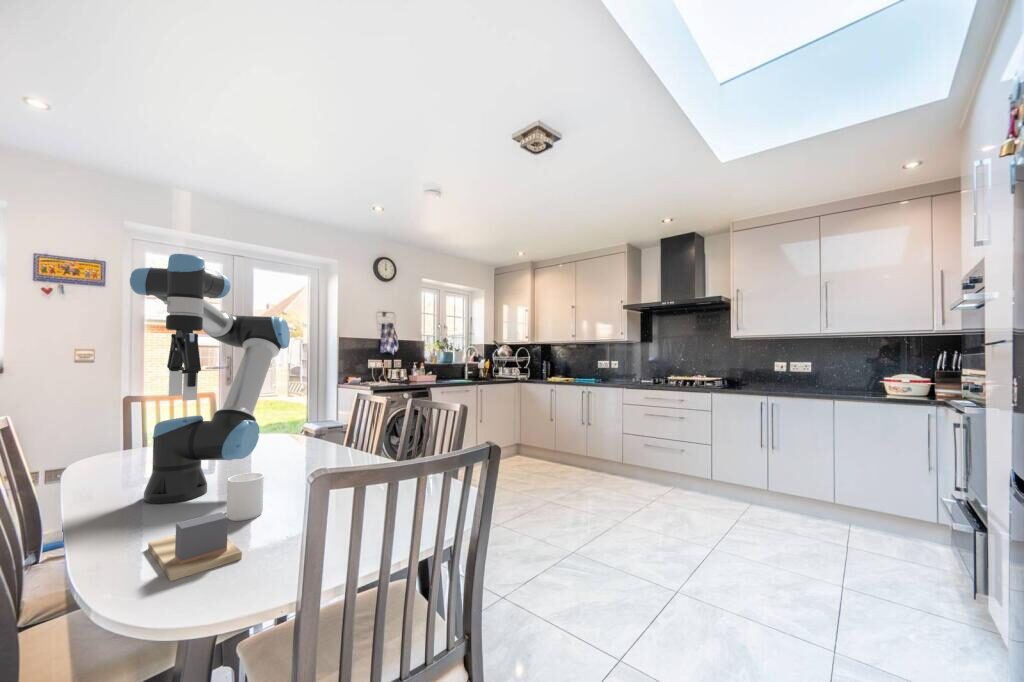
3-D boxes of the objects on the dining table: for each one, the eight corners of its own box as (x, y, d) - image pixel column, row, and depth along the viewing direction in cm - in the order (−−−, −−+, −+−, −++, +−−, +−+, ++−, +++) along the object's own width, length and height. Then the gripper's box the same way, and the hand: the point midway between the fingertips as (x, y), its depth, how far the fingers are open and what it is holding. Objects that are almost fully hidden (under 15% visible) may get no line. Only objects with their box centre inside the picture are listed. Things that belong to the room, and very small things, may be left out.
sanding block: (174, 557, 89) (176, 522, 89) (220, 544, 95) (221, 512, 95) (180, 564, 86) (181, 528, 86) (226, 550, 92) (227, 517, 92)
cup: (233, 523, 109) (235, 483, 110) (215, 512, 117) (217, 474, 117) (268, 514, 116) (269, 476, 116) (249, 504, 123) (250, 468, 123)
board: (148, 548, 95) (148, 541, 95) (212, 532, 104) (212, 525, 104) (170, 581, 82) (171, 573, 82) (241, 558, 91) (241, 551, 91)
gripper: (155, 315, 116) (152, 394, 116) (180, 311, 100) (177, 403, 99) (188, 317, 122) (186, 393, 121) (217, 314, 106) (215, 400, 105)
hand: (182, 397), depth 110 cm, fingers open, 13 cm apart
